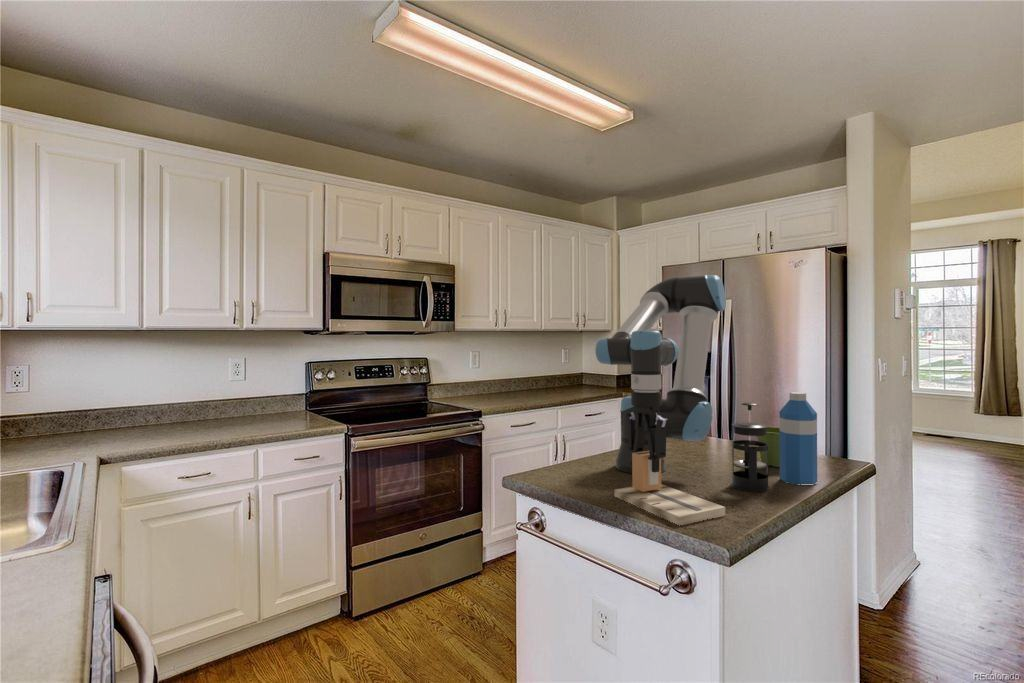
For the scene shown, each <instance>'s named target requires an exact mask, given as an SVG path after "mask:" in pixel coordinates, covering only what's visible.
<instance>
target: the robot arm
mask: <svg viewBox="0 0 1024 683" xmlns="http://www.w3.org/2000/svg"><path fill="white" fill-rule="evenodd" d="M725 292H726V291H725V287H724V283H723V281H722V279H721V277H719V275H716V274H711V275H709V274H708V275H707V274H704V275H695V276H683V277H682V276H681V277H680V276H679V277H671V278H668V279H664V280H662V281H660V282H658V283H656V284H655V285H653V286H651V288H649V289H648V290H647V291H646V292H645V293H644V294H643V295H642V296H641V298H640V301H639V305H638V306H637V307H636V308H635V309H634V310H633V311H632V313H631V314H630V315H629V317H627V319H626V320H625V321H624V322H623V323H622V324H621V326H620V327H619V328H618V330H617V331H616V332H615V333H614V334H613V335H612V337H609V338H608V337H604V338H600V339H598V341H597V342H596V345H595V356H596V360H597V361H598V363H600V364H603V365H611V366H613V365H617V366H618V365H619V366H620V365H622V366H623V365H624V366H630V379H631V385H630V388H631V390H632V392H631V393H630V395H628V396H624V397H623V398H622V399H621V402H620V411H619V412H620V446H619V449H618V451H617V456H616V458H615V468H617V469H616V470H617V471H620V470H621V472H623V473H627V472H628V474H632V453H635V452H642V451H649V453H650V457H648V485H655V484H658V472H659V460H660V458H661V473H664V472H665V471H666V461H665V460H664V458H666V457H667V439H671V440H679V441H685V442H690V441H692V442H693V441H694V442H698V441H699V442H700V441H702V440H704V439H705V438H706V437H707V435H708V434H709V431H710V429H711V425H712V420H713V406H712V405H711V403H710V402H708V397H707V396H706V394H705V393H704V392H703V391H704V384H705V377H706V376H705V375H706V370H707V368H706V367H707V362H708V361H707V360H708V353H709V346H710V339H711V338H710V337H711V330H712V323H714V321H715V320H717V319H718V315H719V313H721V312H724V311H725V309H726V305H727V299H726V293H725ZM674 313H678V314H679V316H680V317H681V318H682V327H681V332H680V333H681V334H680V340H679V346H678V344H677V343H676V342H675V341H674V340H673V339H671V338H668V337H662V334H661V332H660V331H659V330H652V329H653V327H654V325H656V323H657V322H658V320H659V319H662V318H664V317H666V315H667V314H674ZM675 362H676V364H675V365H676V366H675V372H674V373H675V374H674V378H673V379H674V380H673V385H672V386H673V388H671V389H669V390H668V391H667V392H666V398H662V393H661V390H662V386H663V384H662V366H664V367H667V366H668V365H672V364H673V363H675Z"/></svg>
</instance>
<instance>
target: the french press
mask: <svg viewBox="0 0 1024 683" xmlns="http://www.w3.org/2000/svg"><path fill="white" fill-rule="evenodd" d="M741 405H742V406H747V411H748V422H735V423H732V424H731V426H732V427H733V433H734V434H736V435H740V436H748V439H737V440H733V441H731V449H732V451H731V454H732V455H731V461H732V462H731V463H732V464H731V470H732V472H731V473H732V476H731V477H732V481H731V487H732V488H734V489H737V490H739V491H745V492H751V493H763V492H768V491H769V490H770V486H769V466H768V444H767V443H764V442H760V441H758V440H751V439H752V438H751V437H757V436H763V435H766V429H767V428H768V427H769V426H768V425H766V424H761V423H755V422H751V411H752V406H753V407H754V406H759V404H758V403H756V402H742V403H741ZM734 449H735V450H739V451H744V458H743V459H739V460H737V459H736V460H735V459H734V457H735V456H734V455H735V454H734ZM760 451H766V464H765V463H763V462H761V461H758V452H759V453H760ZM734 467H737V468H740V469H744V470H736V471H735V470H734ZM765 469H766V474H765V473H763V472H758V470H765Z"/></svg>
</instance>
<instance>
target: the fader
mask: <svg viewBox="0 0 1024 683" xmlns="http://www.w3.org/2000/svg"><path fill="white" fill-rule="evenodd" d="M648 457H650V453H649V451H642V452H635V453H632V473H631V474H632V475H631V476H632V479H631V480H632V485H631V487H632V488H634V489H637V490H639V491H642V492H645V491H650V490H656V489H661V484H662V472H661V458H660V460H659V472H658V484H655V485H648Z"/></svg>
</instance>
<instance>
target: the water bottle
mask: <svg viewBox="0 0 1024 683" xmlns="http://www.w3.org/2000/svg"><path fill="white" fill-rule="evenodd" d="M811 405H812V404H810V403H809V402H808V400H807V393H805V392H798V391H797V392H793V391H792V392H789V400H788V401H787V402H786V403H785V405H784V406H783V407H782V408H781V409H780V411H779V419H778V420H779V424H778V425H779V428H780V467H779V480H780V479H781V480H783V481H785V482H788V483H793V484H792V485H794V484H800V485H801V484H814V483H816V482H817V483H818V413H817V412H816V410H815V409H814V408H813V407H812V406H811ZM781 480H780V481H781ZM783 481H782V482H783ZM785 482H784V483H785ZM788 483H787V484H788Z"/></svg>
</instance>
